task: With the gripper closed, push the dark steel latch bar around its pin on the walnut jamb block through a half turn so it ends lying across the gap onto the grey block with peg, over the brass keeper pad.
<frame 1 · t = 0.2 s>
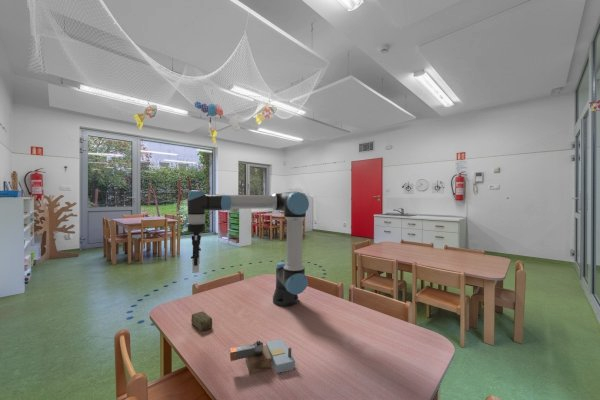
hand: (196, 268, 119), 28 cm above the table, fingers open, 13 cm apart
latch bar: (247, 349, 92), point 6 cm above the table, hinge at 0.0°
grey block with peg: (279, 358, 98), on the table
jamb block: (258, 364, 94), on the table
stone block: (201, 326, 121), on the table
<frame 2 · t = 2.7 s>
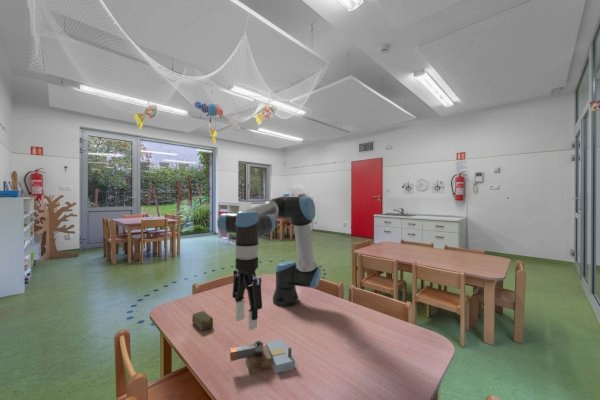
hand: (246, 323, 86), 19 cm above the table, fingers open, 7 cm apart
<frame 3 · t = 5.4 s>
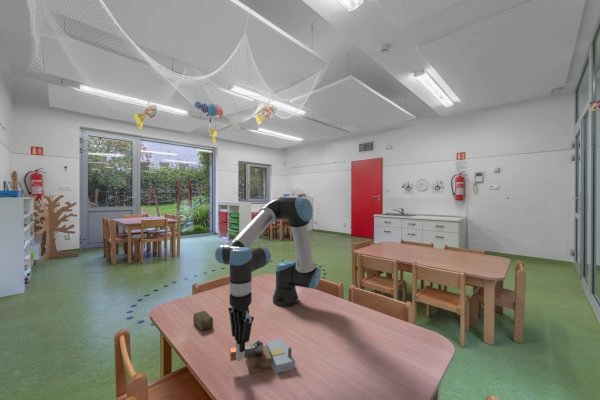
hand: (240, 358, 89), 5 cm above the table, fingers closed
latch bar: (247, 349, 92), point 6 cm above the table, hinge at 0.1°, touching gripper
everything else where it was.
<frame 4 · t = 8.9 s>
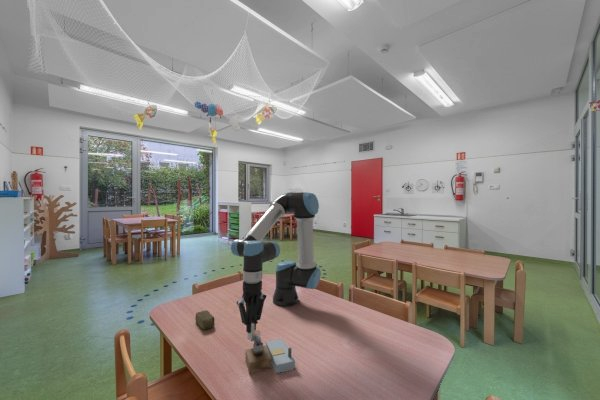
hand: (250, 339, 101), 5 cm above the table, fingers closed
latch bar: (257, 341, 98), point 6 cm above the table, hinge at 98.5°, touching gripper
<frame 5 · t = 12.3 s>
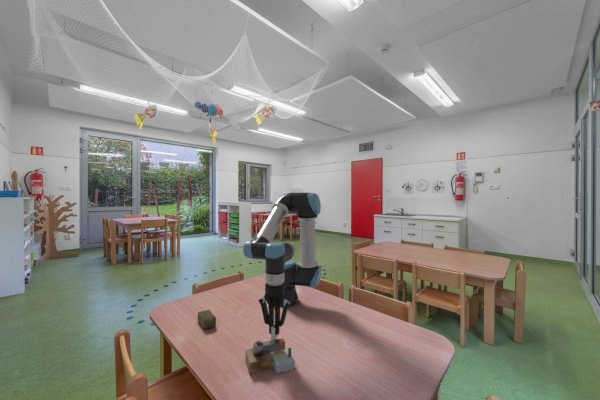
hand: (274, 341, 100), 5 cm above the table, fingers closed
latch bar: (269, 345, 95), point 6 cm above the table, hinge at 180.8°
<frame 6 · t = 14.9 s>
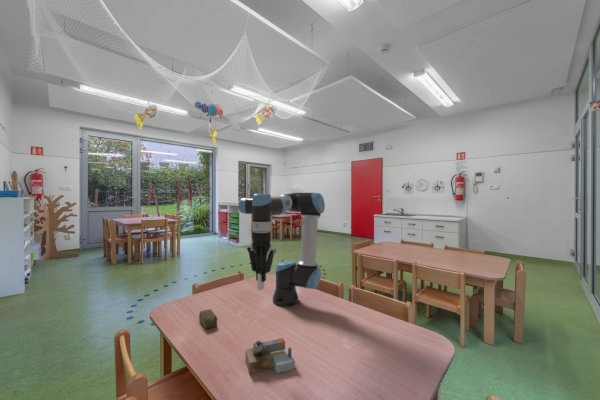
hand: (260, 288, 104), 24 cm above the table, fingers closed
at the end: latch bar at +181° (first picture: +0°) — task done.
